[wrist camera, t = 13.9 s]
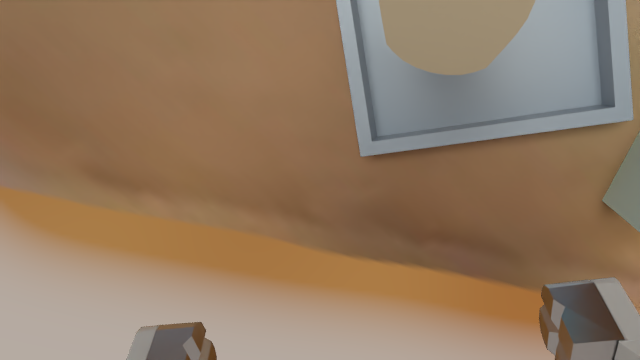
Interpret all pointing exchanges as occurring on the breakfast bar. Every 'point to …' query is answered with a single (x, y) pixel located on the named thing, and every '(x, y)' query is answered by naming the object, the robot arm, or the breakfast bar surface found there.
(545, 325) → the robot arm
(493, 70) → the tray
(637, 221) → the right angle wall
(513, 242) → the breakfast bar surface
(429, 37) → the handle
